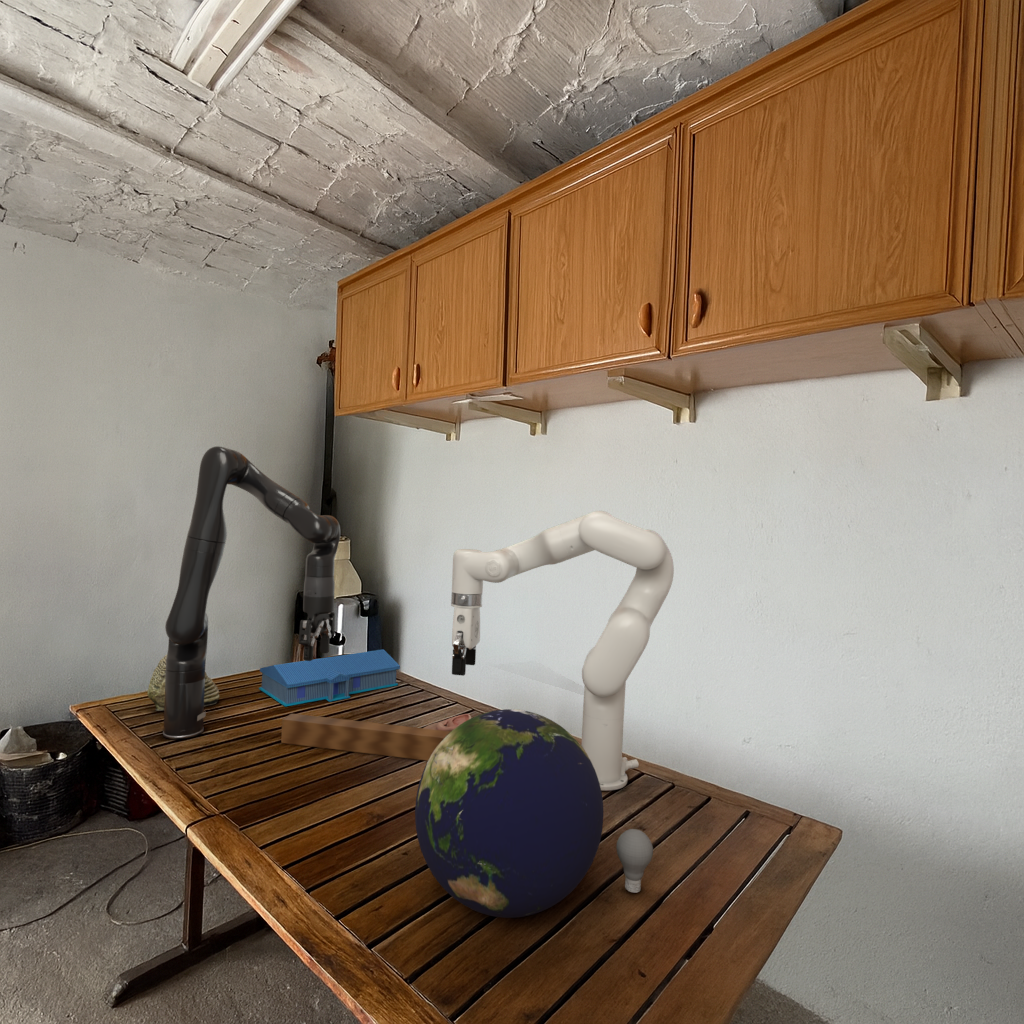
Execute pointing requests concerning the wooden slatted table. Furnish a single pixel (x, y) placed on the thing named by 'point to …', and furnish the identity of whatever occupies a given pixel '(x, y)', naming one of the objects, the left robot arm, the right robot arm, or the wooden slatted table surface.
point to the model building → (329, 677)
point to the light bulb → (634, 857)
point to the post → (361, 736)
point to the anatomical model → (449, 723)
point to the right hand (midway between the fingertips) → (463, 669)
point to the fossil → (158, 687)
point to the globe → (509, 813)
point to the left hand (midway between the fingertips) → (316, 656)
